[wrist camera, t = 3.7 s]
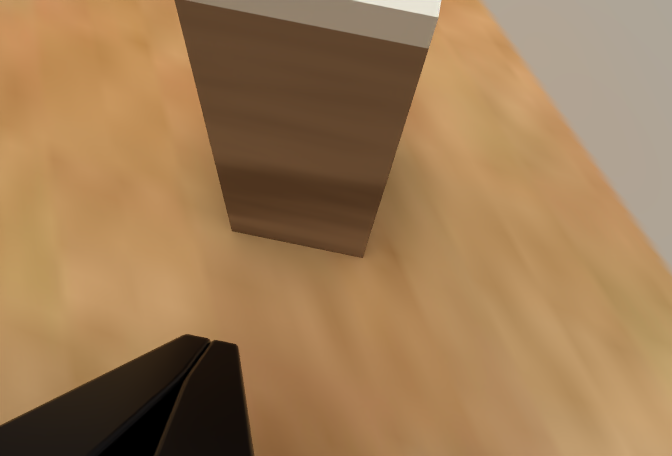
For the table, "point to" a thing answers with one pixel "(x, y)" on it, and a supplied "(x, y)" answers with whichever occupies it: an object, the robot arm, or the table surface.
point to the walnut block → (306, 108)
